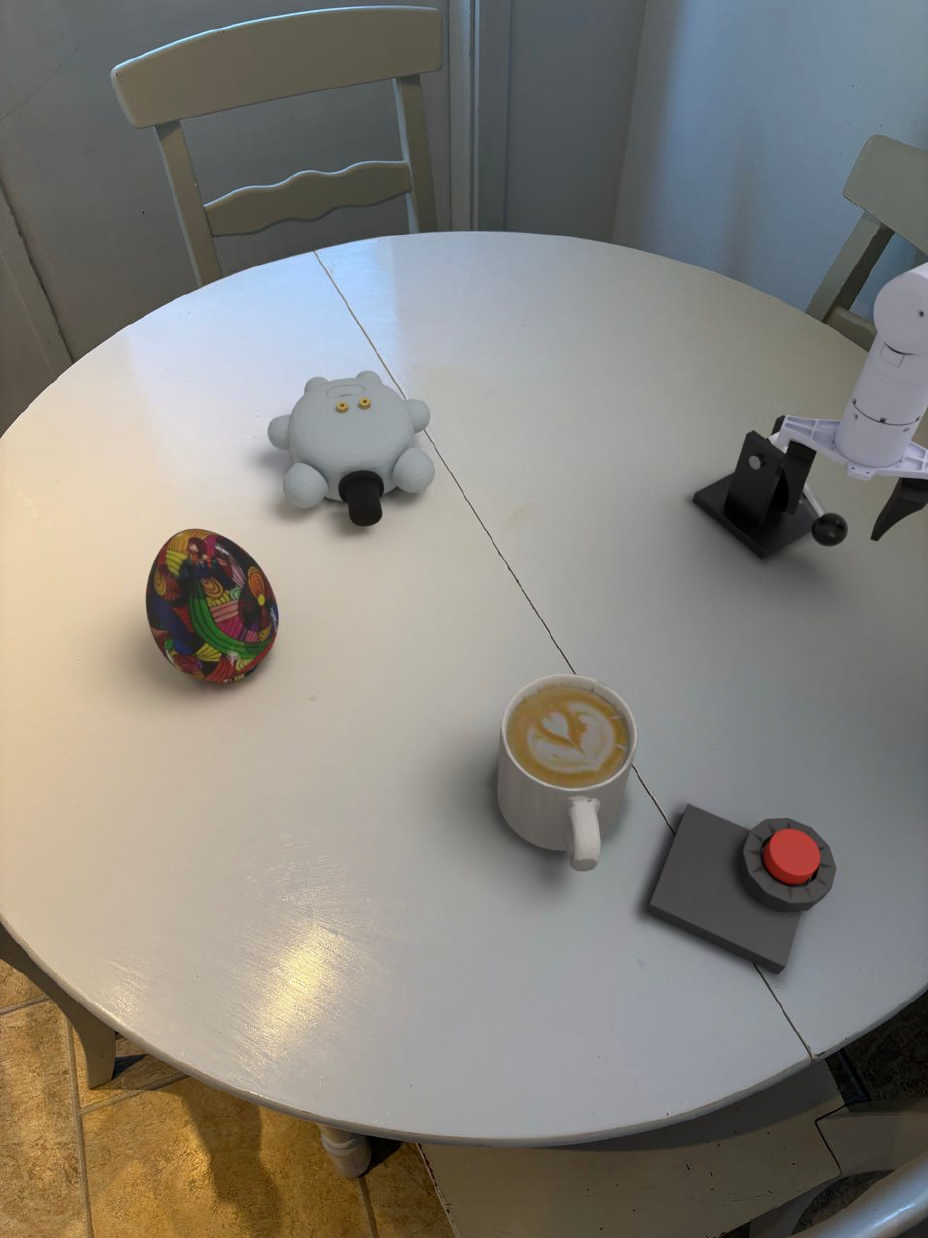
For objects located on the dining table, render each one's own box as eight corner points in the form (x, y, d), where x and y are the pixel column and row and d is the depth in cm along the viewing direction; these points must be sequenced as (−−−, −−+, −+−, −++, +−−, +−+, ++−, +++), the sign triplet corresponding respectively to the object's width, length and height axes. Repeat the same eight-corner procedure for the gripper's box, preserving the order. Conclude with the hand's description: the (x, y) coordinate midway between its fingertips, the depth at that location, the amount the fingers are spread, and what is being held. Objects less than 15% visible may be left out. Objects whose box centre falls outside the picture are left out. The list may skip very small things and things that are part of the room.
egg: (220, 724, 76) (175, 616, 64) (144, 659, 81) (89, 546, 69) (311, 648, 81) (285, 535, 69) (235, 590, 86) (198, 474, 74)
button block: (828, 859, 69) (843, 840, 66) (796, 983, 63) (811, 967, 60) (688, 800, 72) (697, 779, 69) (645, 912, 66) (653, 894, 63)
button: (818, 851, 66) (825, 841, 64) (806, 893, 64) (814, 884, 62) (770, 830, 67) (776, 820, 65) (757, 871, 65) (763, 862, 63)
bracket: (818, 527, 90) (852, 449, 82) (762, 560, 88) (791, 483, 80) (747, 471, 96) (773, 393, 88) (692, 501, 93) (713, 423, 85)
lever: (840, 543, 86) (861, 530, 83) (817, 556, 85) (838, 544, 82) (771, 440, 87) (790, 424, 84) (747, 452, 86) (766, 437, 83)
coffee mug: (499, 736, 75) (503, 669, 68) (617, 743, 75) (634, 676, 67) (492, 890, 67) (495, 834, 59) (624, 898, 67) (645, 842, 59)
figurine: (269, 418, 101) (285, 558, 90) (255, 359, 94) (271, 505, 83) (420, 398, 103) (452, 533, 92) (418, 339, 96) (452, 479, 85)
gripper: (787, 406, 72) (745, 523, 83) (976, 458, 68) (907, 575, 79) (806, 358, 76) (765, 476, 87) (986, 405, 72) (919, 523, 83)
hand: (833, 520), depth 83 cm, fingers open, 7 cm apart
